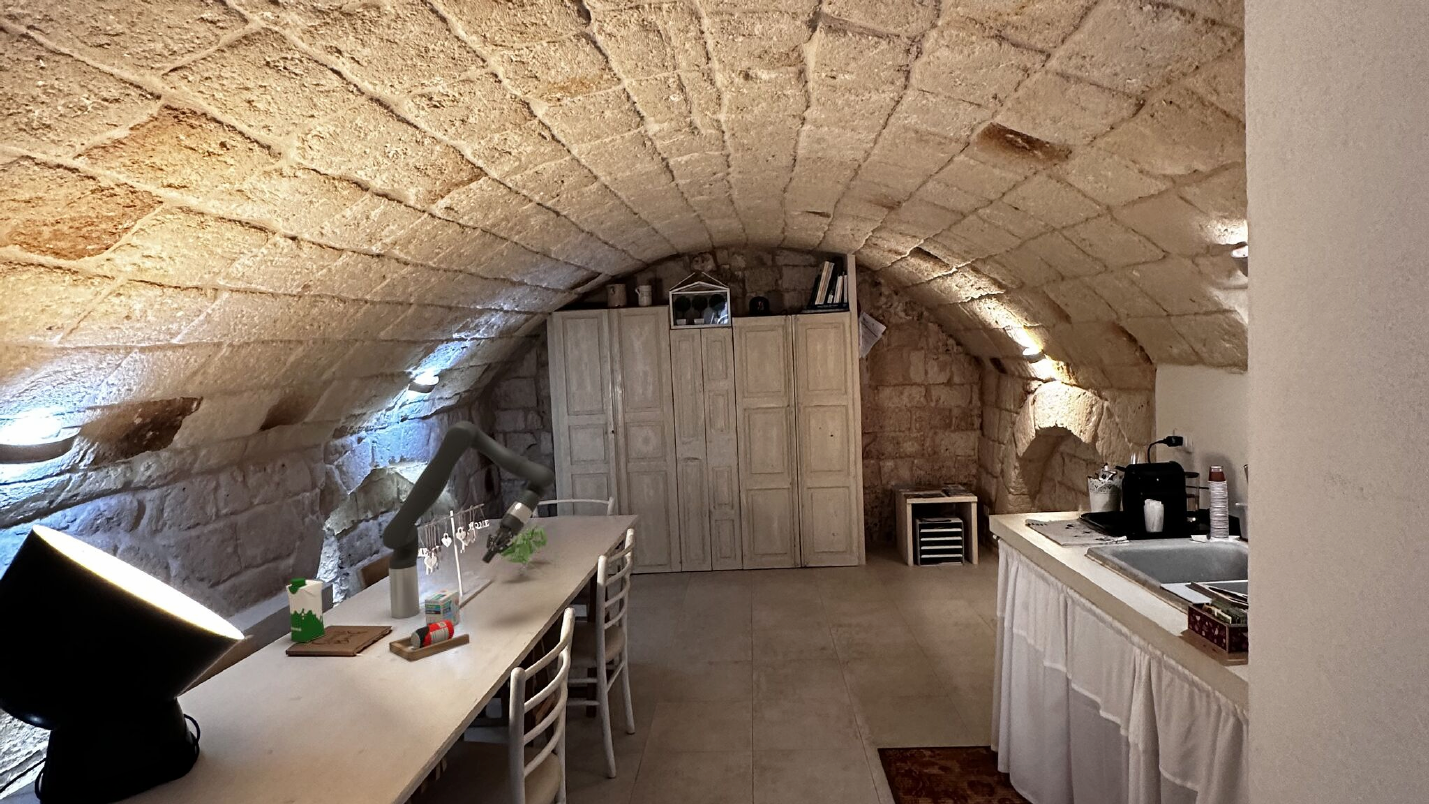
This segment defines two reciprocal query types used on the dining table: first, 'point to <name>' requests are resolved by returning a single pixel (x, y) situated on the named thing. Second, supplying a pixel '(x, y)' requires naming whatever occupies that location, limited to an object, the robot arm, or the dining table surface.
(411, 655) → the frame
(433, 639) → the beverage can
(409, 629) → the dining table surface
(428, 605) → the light bulb box
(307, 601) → the milk carton
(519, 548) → the plant cuttings
